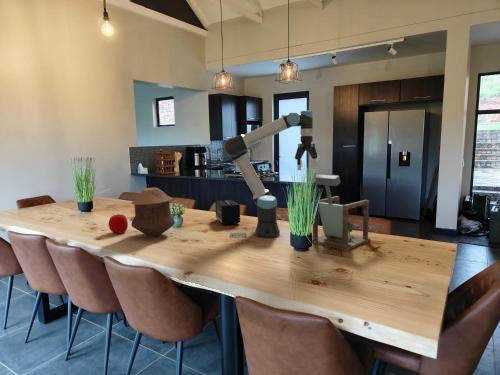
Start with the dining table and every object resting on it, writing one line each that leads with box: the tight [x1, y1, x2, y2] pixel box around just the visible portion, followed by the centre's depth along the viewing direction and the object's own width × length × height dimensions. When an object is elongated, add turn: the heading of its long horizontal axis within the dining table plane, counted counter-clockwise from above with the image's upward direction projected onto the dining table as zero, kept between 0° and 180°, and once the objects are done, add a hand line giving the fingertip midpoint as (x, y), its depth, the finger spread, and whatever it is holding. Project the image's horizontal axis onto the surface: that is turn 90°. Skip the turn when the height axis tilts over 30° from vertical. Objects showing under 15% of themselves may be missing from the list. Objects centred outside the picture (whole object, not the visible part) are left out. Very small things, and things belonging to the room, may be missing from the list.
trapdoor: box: [315, 173, 350, 239], centre depth 183 cm, size 36×16×4 cm
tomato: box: [108, 213, 129, 235], centre depth 220 cm, size 12×12×13 cm
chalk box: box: [324, 221, 354, 238], centre depth 198 cm, size 9×9×15 cm
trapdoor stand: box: [311, 195, 371, 252], centre depth 191 cm, size 25×23×24 cm
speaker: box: [215, 199, 241, 226], centre depth 243 cm, size 22×13×15 cm, turn 17°
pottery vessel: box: [130, 187, 176, 238], centre depth 211 cm, size 26×26×30 cm
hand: (306, 169), depth 217 cm, fingers open, 13 cm apart
